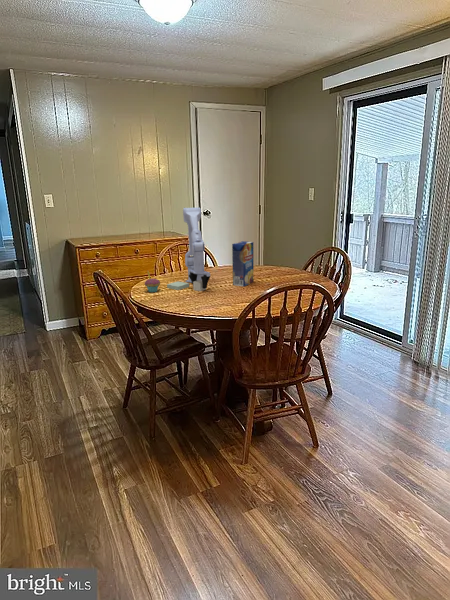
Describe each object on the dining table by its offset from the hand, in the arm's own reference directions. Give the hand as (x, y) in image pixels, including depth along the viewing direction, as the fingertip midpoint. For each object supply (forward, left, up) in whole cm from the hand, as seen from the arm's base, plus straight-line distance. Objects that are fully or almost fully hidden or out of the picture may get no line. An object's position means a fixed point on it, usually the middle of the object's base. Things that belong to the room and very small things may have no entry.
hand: (199, 287), depth 228 cm
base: (+3, -14, -1) cm, 14 cm away
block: (0, 0, -2) cm, 2 cm away
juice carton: (-25, +12, -2) cm, 28 cm away
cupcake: (+17, -20, -2) cm, 26 cm away
